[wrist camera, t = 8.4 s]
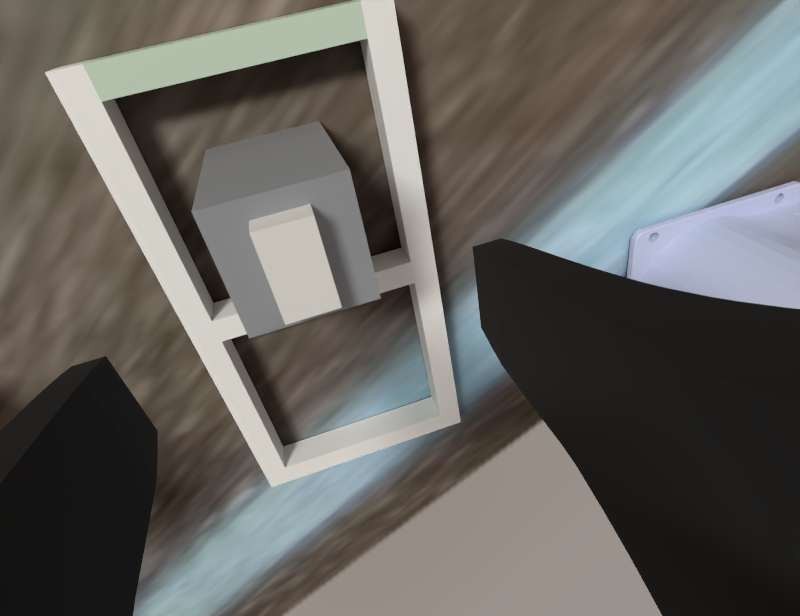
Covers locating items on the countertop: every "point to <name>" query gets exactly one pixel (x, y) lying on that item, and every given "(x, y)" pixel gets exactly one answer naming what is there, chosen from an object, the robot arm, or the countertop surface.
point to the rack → (170, 259)
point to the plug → (284, 228)
